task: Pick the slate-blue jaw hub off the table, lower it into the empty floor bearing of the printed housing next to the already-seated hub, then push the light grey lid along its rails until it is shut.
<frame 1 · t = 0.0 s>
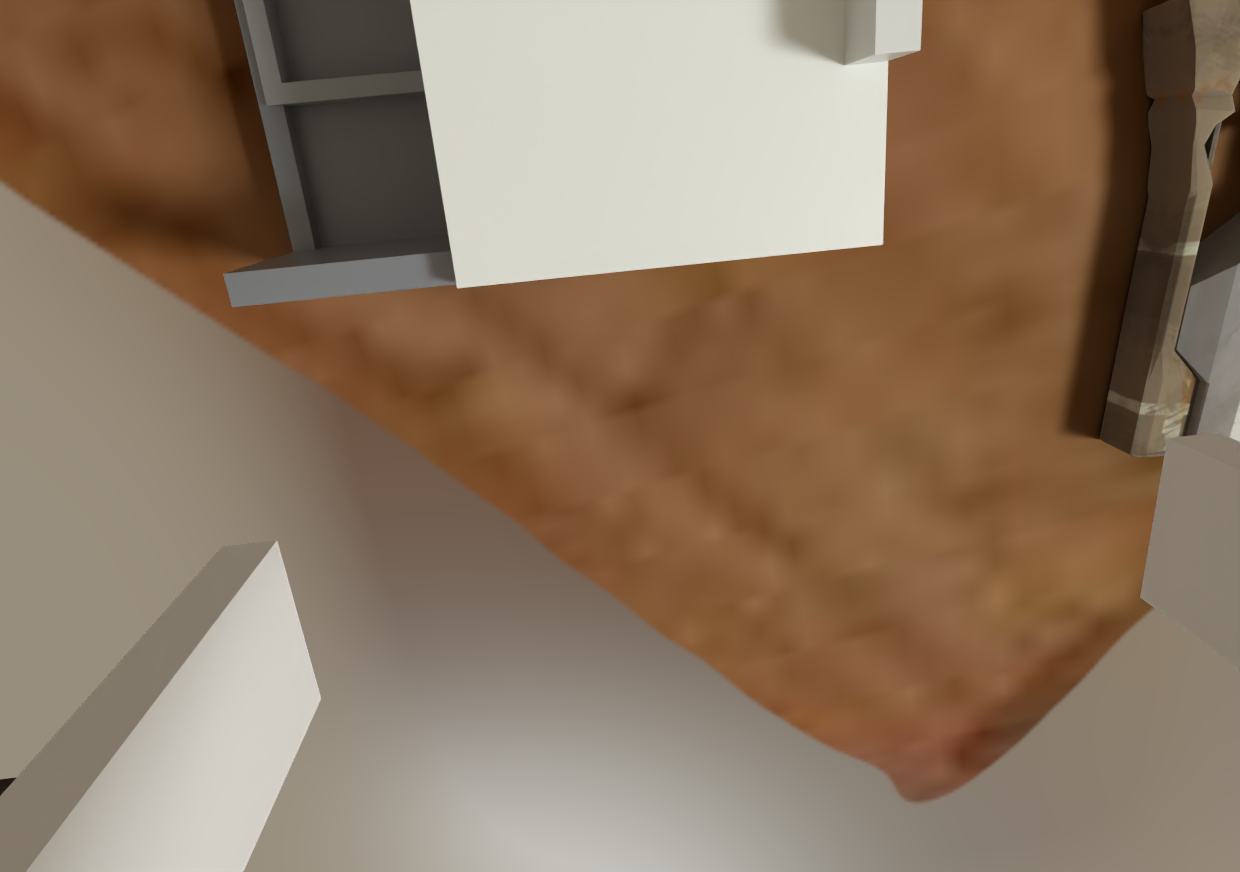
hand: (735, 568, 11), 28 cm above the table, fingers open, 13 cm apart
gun: (1223, 238, 40), on the table
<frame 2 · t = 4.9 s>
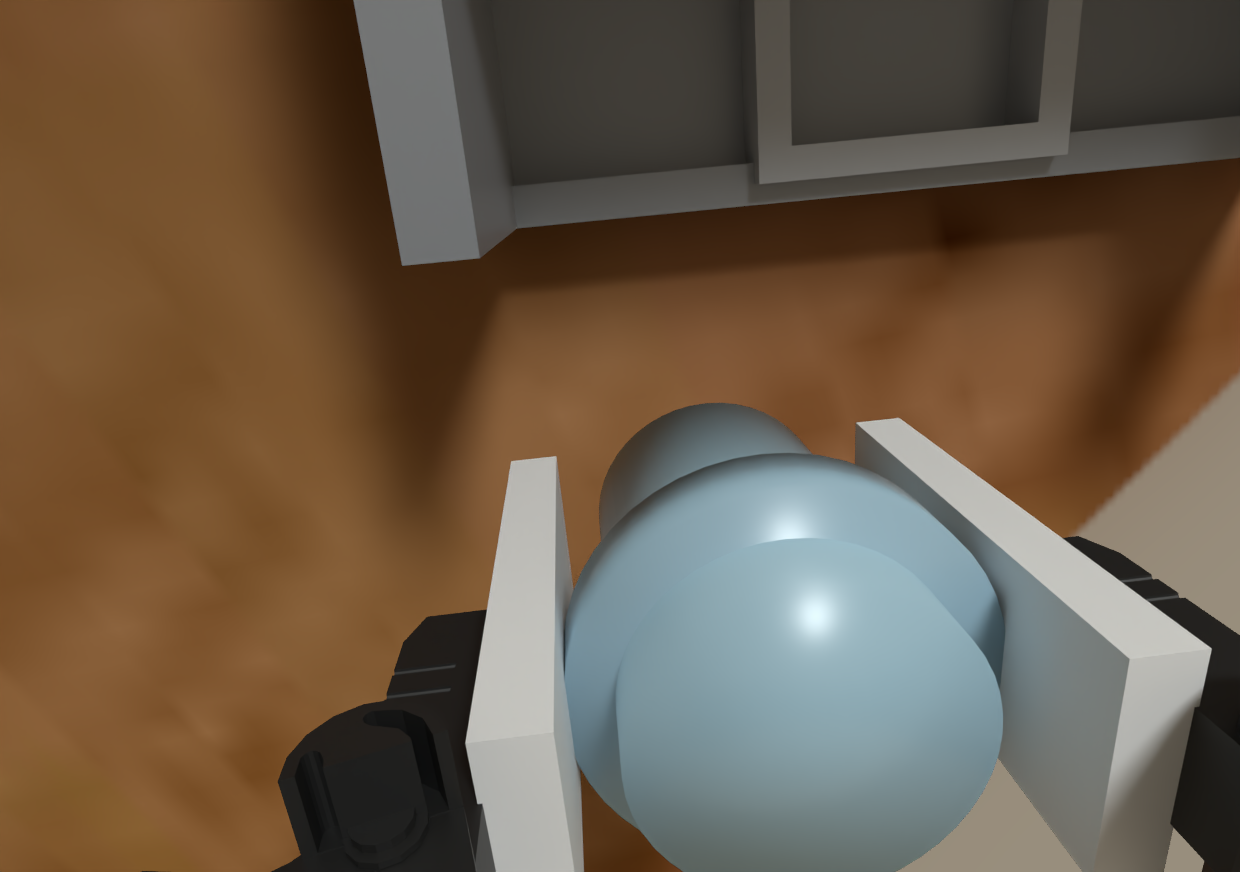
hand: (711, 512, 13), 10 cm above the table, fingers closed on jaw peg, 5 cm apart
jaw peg: (710, 509, 13), point 9 cm above the table, touching gripper
when the fingers open (3 cm above the table, at t = 8.0 s): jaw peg drops 2 cm, resting on housing.
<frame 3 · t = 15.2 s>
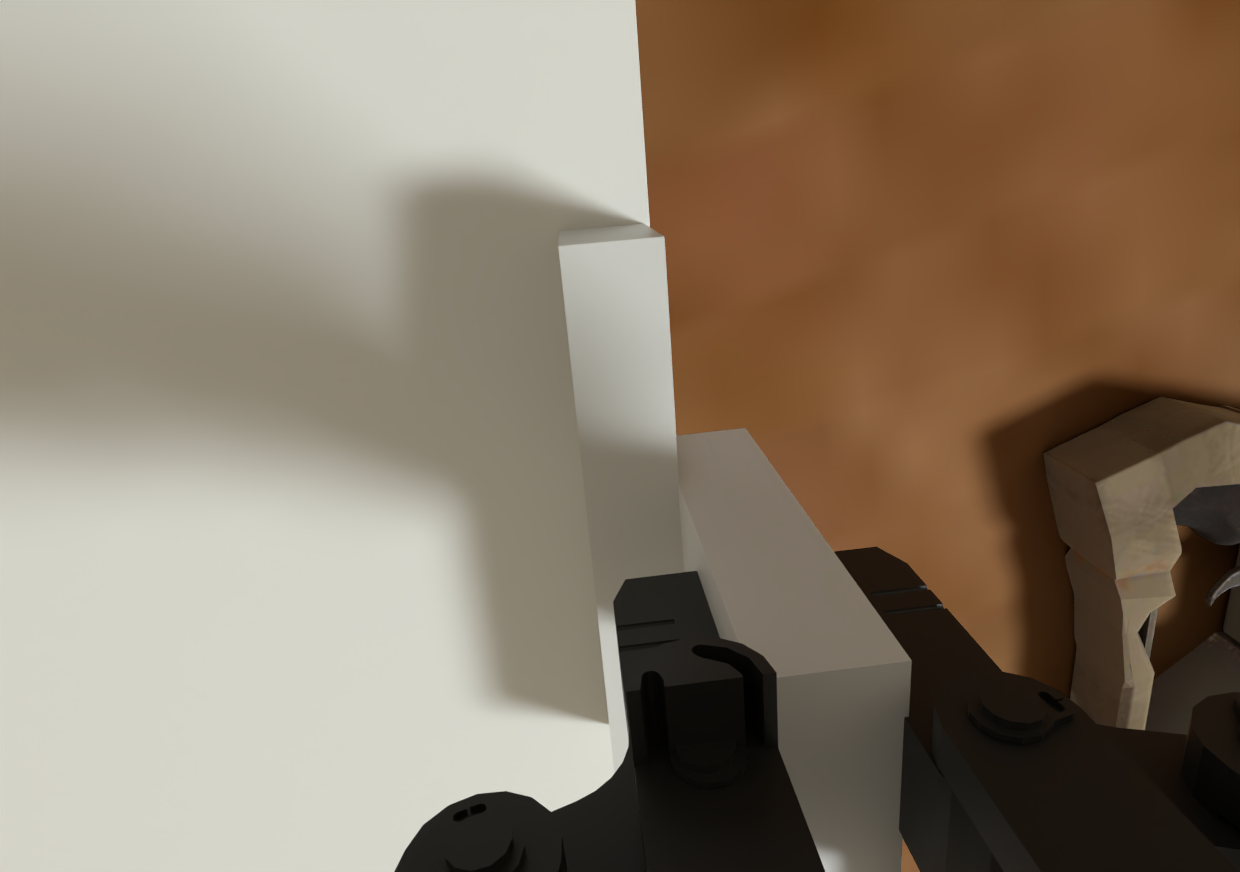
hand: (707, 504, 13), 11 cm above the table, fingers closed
lid: (228, 568, 13), point 12 cm above the table, slide at 7.8 cm, touching gripper
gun: (1184, 662, 31), on the table
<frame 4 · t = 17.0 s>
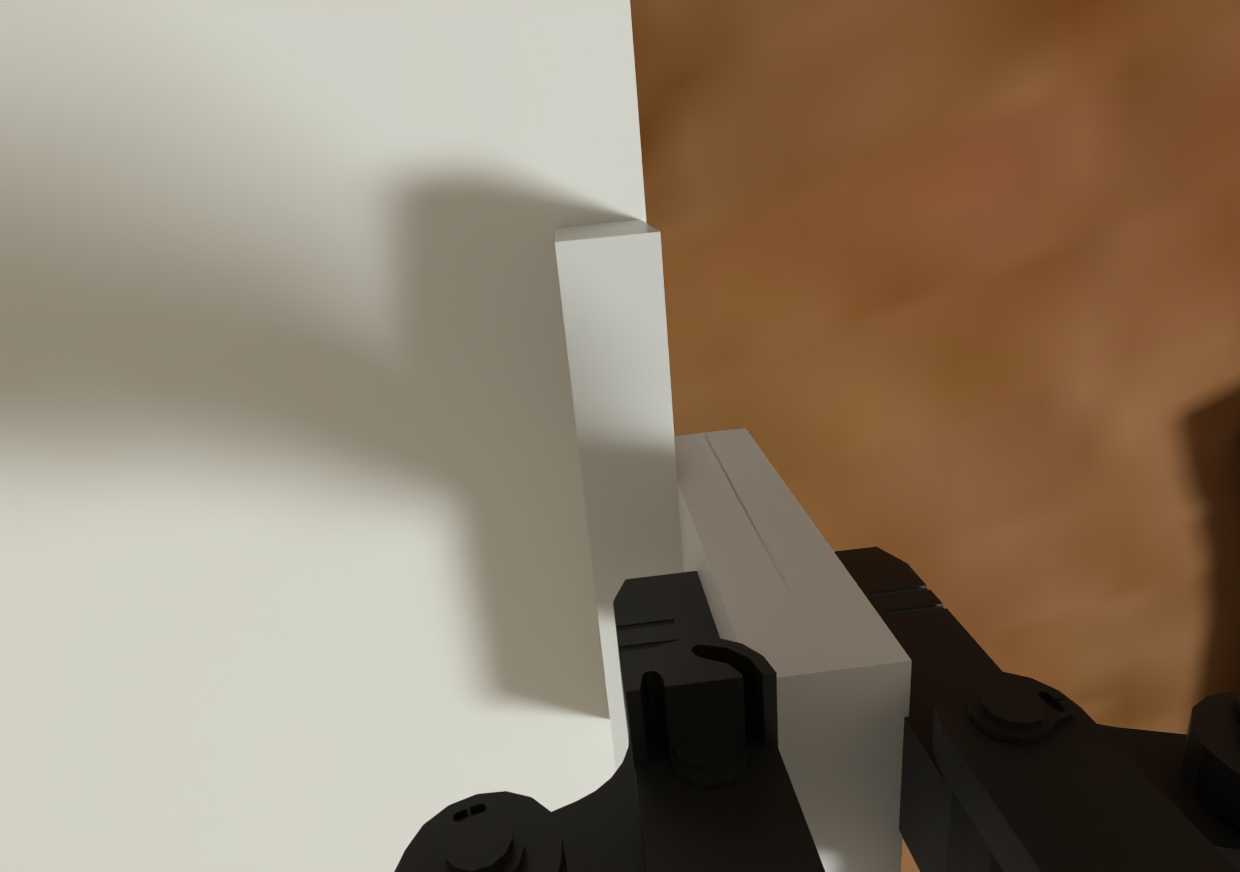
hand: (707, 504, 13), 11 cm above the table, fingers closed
lid: (230, 566, 13), point 12 cm above the table, slide at 0.0 cm, touching gripper
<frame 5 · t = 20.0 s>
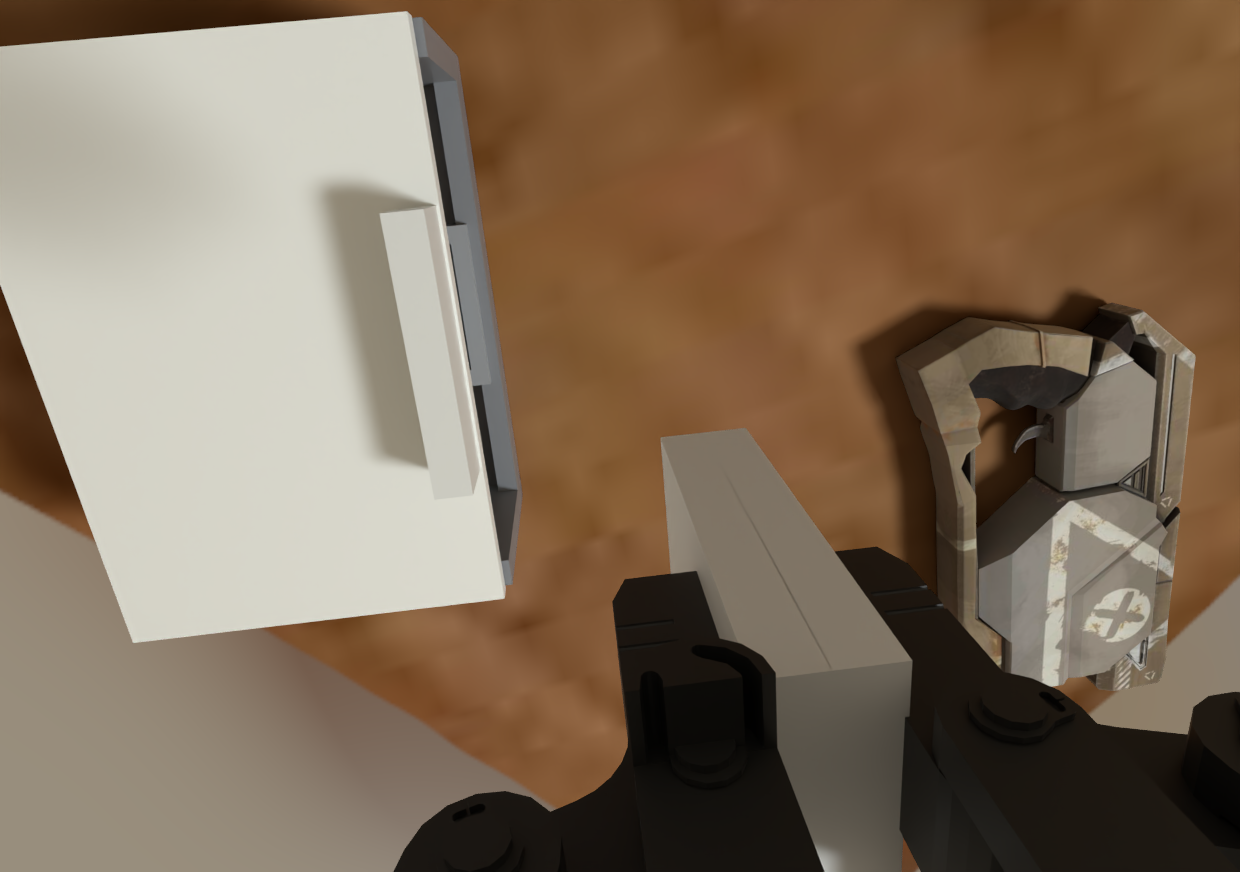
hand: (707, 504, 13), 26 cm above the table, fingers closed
lid: (243, 372, 27), point 12 cm above the table, slide at 0.0 cm
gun: (1017, 501, 45), on the table
housing: (333, 314, 38), on the table
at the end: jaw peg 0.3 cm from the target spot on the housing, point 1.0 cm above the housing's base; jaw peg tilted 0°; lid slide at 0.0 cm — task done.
